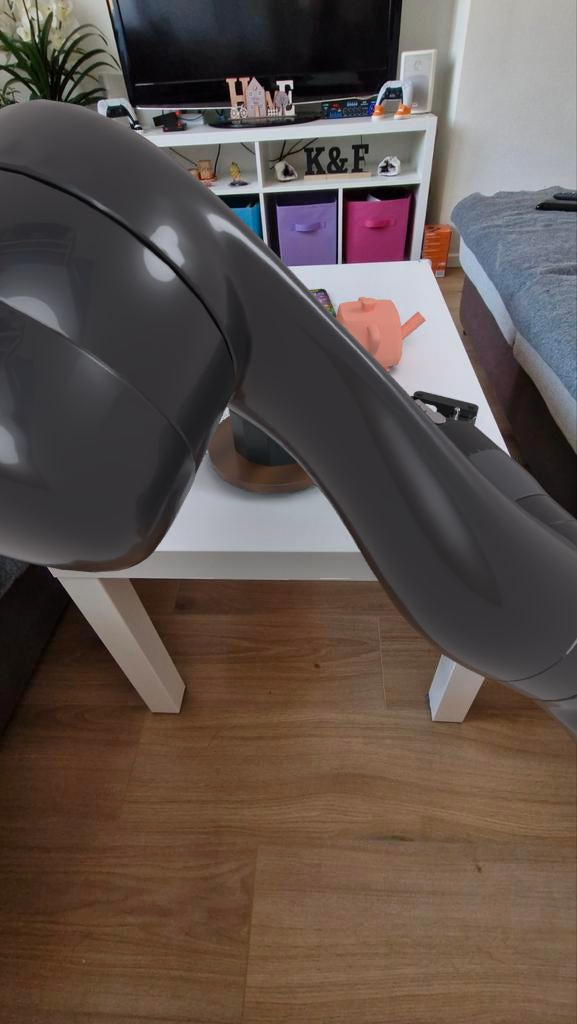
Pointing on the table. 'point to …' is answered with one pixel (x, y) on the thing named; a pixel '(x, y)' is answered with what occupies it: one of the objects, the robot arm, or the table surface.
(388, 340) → the teapot
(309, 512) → the table surface
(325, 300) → the smartphone
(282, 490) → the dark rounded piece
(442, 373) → the table surface
